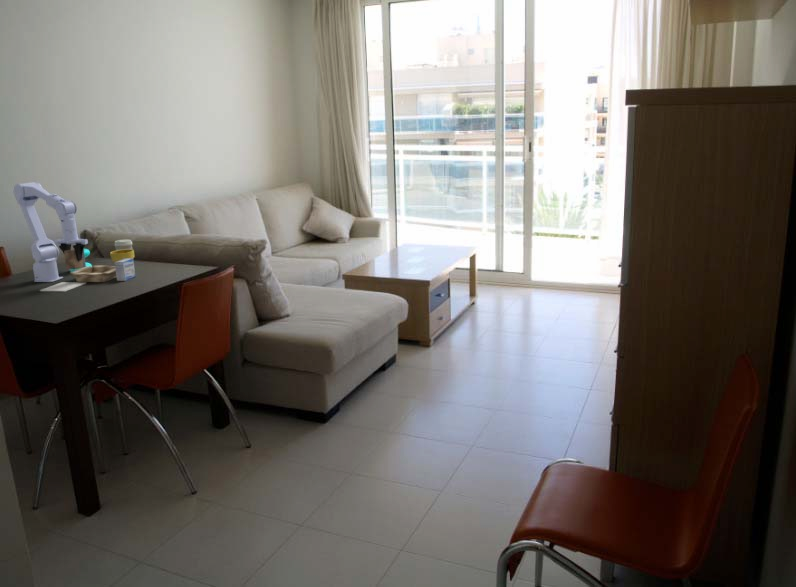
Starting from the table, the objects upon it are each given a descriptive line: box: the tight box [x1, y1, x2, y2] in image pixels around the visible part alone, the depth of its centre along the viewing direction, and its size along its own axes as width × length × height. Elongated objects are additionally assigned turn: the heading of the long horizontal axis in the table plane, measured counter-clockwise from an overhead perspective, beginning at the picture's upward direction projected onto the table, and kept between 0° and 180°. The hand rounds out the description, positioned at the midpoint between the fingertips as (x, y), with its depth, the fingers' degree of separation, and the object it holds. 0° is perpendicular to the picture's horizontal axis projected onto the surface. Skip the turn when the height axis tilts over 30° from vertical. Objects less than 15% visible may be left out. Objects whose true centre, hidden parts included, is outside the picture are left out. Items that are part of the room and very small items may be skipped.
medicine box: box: [114, 258, 136, 282], centre depth 304 cm, size 8×4×9 cm, turn 168°
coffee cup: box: [114, 238, 133, 251], centre depth 335 cm, size 8×8×12 cm
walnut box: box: [63, 248, 86, 270], centre depth 298 cm, size 4×7×8 cm, turn 169°
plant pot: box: [109, 248, 135, 265], centre depth 319 cm, size 10×10×10 cm
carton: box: [69, 264, 117, 283], centre depth 308 cm, size 19×17×4 cm
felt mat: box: [39, 281, 87, 293], centre depth 294 cm, size 12×14×1 cm
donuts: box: [69, 248, 93, 272], centre depth 325 cm, size 10×10×10 cm
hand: (74, 260), depth 298 cm, fingers open, 4 cm apart
